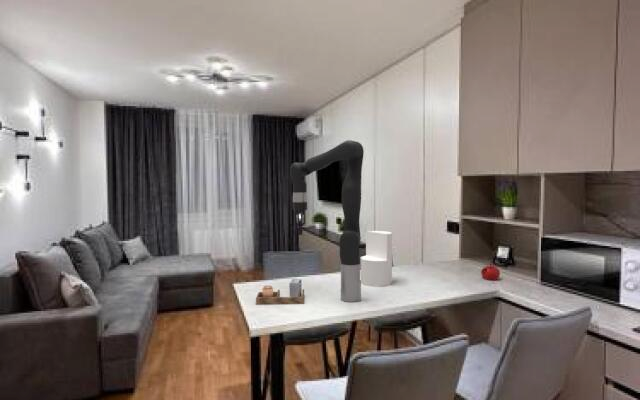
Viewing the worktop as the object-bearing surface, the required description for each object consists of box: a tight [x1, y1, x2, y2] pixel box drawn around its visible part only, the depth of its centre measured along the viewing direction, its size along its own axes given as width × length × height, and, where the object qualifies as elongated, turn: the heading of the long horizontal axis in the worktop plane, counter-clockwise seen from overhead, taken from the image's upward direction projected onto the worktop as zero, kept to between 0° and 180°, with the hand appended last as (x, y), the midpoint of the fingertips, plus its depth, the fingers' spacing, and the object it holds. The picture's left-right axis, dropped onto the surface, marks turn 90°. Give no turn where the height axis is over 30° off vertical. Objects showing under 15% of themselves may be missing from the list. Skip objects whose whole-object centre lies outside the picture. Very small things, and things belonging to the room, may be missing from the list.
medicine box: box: [289, 278, 303, 297], centre depth 181 cm, size 8×4×9 cm, turn 172°
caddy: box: [255, 288, 305, 306], centre depth 178 cm, size 22×13×4 cm, turn 92°
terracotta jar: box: [261, 285, 274, 297], centre depth 176 cm, size 5×5×7 cm
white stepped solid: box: [360, 230, 393, 288], centre depth 210 cm, size 17×17×28 cm
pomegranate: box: [480, 262, 501, 281], centre depth 217 cm, size 10×10×9 cm
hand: (300, 234), depth 196 cm, fingers closed
